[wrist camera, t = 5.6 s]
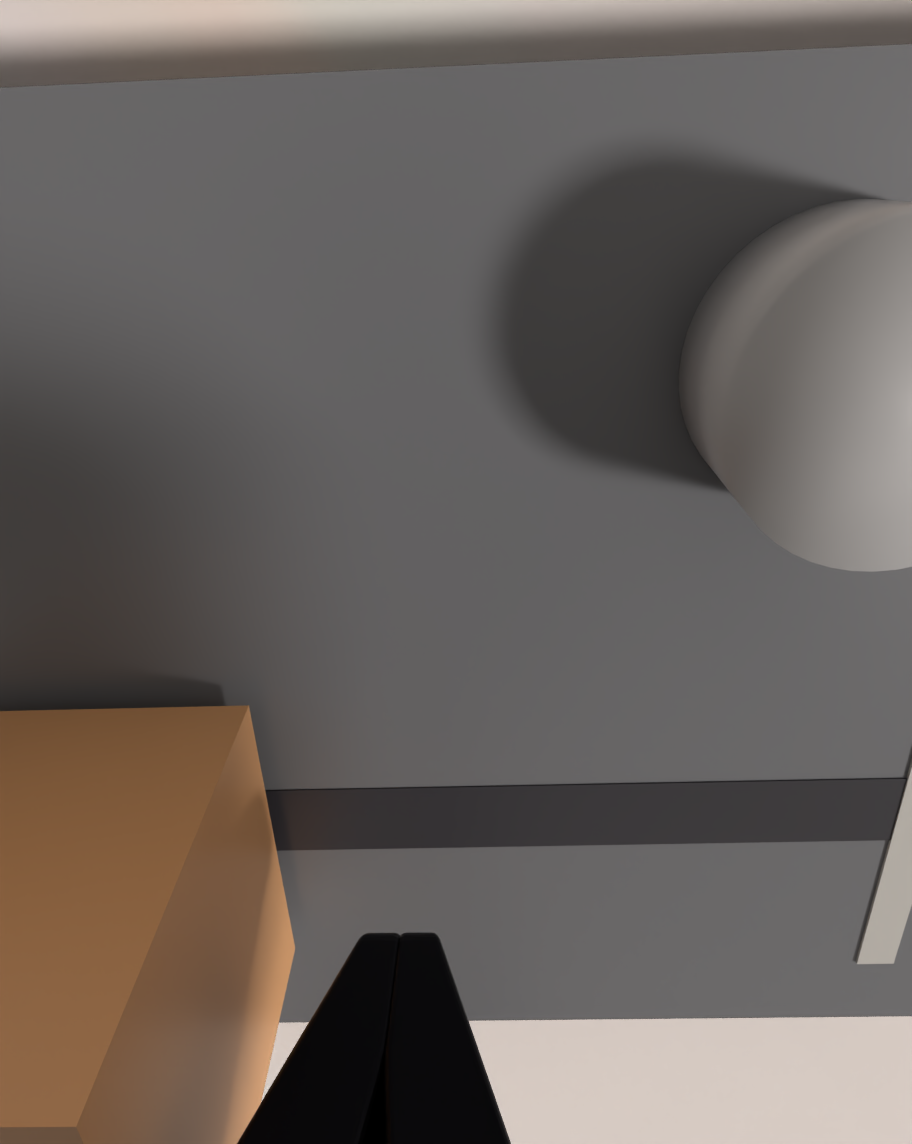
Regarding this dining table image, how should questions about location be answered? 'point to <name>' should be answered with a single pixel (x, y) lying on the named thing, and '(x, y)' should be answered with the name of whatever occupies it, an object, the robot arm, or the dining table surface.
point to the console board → (495, 500)
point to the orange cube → (136, 926)
